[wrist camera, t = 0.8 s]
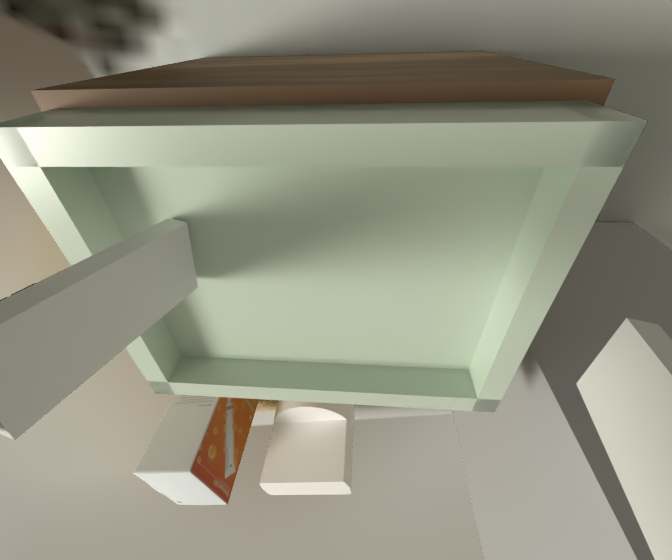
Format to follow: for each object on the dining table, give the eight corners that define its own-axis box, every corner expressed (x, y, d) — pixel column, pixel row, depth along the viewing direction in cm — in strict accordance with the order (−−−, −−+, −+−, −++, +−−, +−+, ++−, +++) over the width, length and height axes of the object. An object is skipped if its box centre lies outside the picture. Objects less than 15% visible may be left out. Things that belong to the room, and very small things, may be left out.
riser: (201, 58, 20) (30, 90, 10) (480, 50, 19) (614, 79, 9) (243, 238, 28) (173, 357, 18) (441, 241, 27) (487, 372, 17)
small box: (261, 393, 43) (229, 506, 33) (219, 396, 45) (175, 505, 34) (236, 355, 39) (189, 473, 28) (190, 359, 40) (129, 474, 30)
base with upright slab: (345, 356, 37) (338, 467, 28) (361, 399, 42) (360, 505, 33) (273, 363, 39) (244, 470, 30) (297, 404, 44) (278, 505, 35)
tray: (55, 108, 10) (-20, 127, 8) (587, 100, 9) (647, 121, 7) (178, 352, 18) (155, 393, 16) (479, 366, 16) (494, 412, 14)
